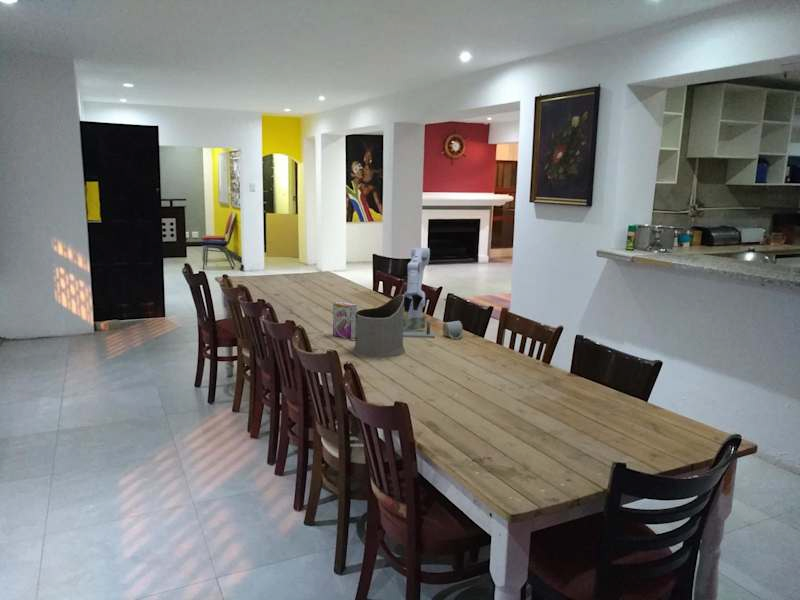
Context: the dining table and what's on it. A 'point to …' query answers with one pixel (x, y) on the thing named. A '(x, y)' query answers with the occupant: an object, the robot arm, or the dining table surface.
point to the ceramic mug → (453, 329)
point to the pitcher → (379, 330)
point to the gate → (413, 323)
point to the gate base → (419, 333)
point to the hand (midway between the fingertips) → (410, 310)
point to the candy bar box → (344, 320)
